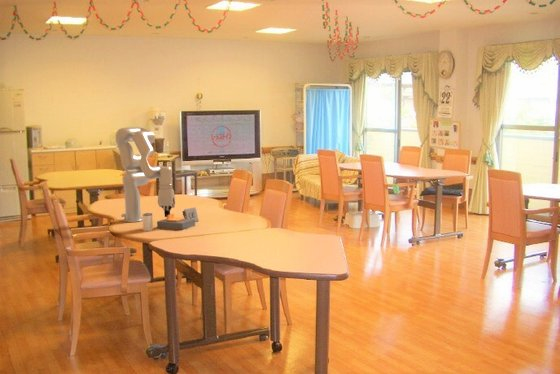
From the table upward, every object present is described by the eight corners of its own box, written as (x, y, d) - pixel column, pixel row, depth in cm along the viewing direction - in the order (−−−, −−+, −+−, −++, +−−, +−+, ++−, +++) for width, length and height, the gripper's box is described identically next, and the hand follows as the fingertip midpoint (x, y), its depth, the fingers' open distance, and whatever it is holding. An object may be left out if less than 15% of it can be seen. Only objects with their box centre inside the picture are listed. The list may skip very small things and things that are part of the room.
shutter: (165, 220, 368) (165, 215, 368) (174, 218, 377) (173, 213, 376) (176, 221, 365) (176, 216, 365) (185, 219, 373) (184, 214, 373)
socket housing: (157, 227, 369) (157, 221, 368) (170, 223, 381) (170, 217, 381) (182, 230, 361) (182, 223, 361) (195, 225, 374) (194, 219, 374)
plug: (143, 230, 361) (142, 214, 359) (147, 229, 364) (146, 212, 363) (148, 231, 359) (148, 214, 358) (152, 229, 363) (152, 213, 361)
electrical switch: (188, 224, 381) (186, 209, 380) (182, 223, 384) (181, 209, 383) (199, 221, 388) (197, 207, 387) (193, 221, 391) (192, 207, 391)
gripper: (152, 187, 370) (153, 217, 373) (173, 188, 364) (174, 218, 367) (159, 185, 377) (160, 215, 379) (180, 186, 371) (181, 216, 373)
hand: (167, 216), depth 373 cm, fingers closed
